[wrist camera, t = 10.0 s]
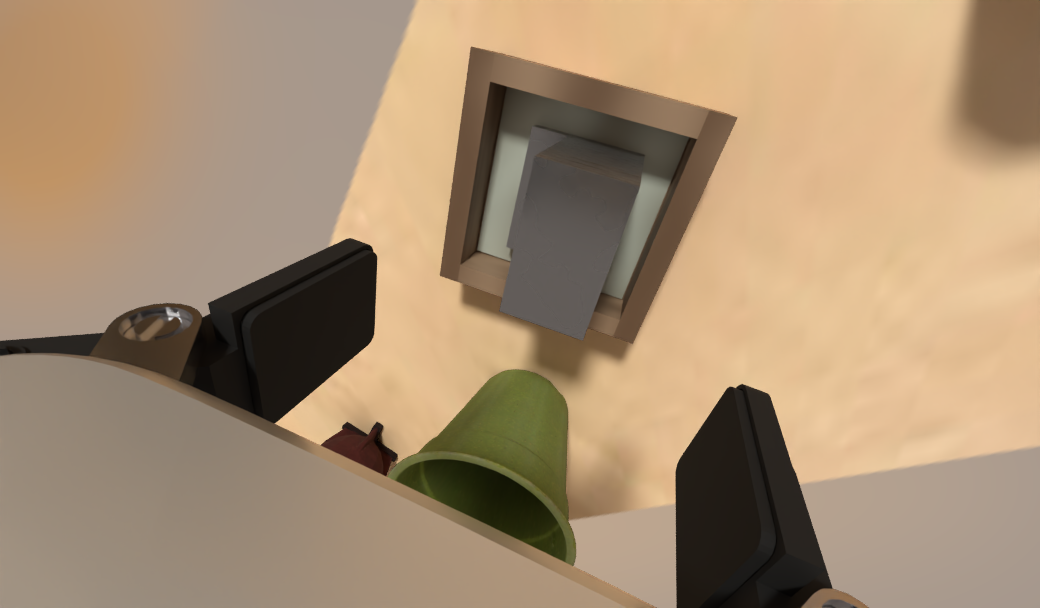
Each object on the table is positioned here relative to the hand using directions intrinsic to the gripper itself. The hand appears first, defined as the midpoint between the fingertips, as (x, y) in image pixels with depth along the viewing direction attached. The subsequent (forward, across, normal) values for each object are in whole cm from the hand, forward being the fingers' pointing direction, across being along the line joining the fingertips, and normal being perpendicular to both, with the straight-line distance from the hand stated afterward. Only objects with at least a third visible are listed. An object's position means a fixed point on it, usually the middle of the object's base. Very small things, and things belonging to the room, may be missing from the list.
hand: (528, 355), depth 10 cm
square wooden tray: (+16, +2, 0) cm, 16 cm away
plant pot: (+16, +1, +17) cm, 24 cm away
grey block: (+15, +1, 0) cm, 15 cm away
